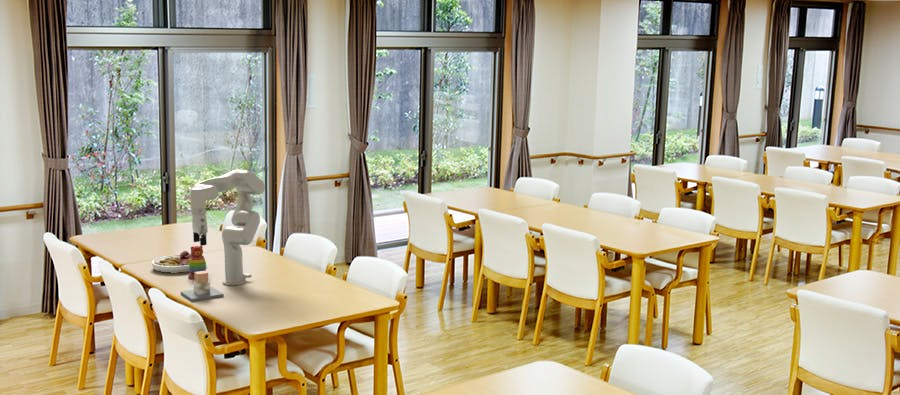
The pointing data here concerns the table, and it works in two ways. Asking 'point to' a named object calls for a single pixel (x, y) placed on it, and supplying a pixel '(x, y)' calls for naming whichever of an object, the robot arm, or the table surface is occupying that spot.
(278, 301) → the table surface
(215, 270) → the table surface
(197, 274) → the terracotta block
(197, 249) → the stacking bear
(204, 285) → the cream block
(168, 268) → the bowl
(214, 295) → the base board
